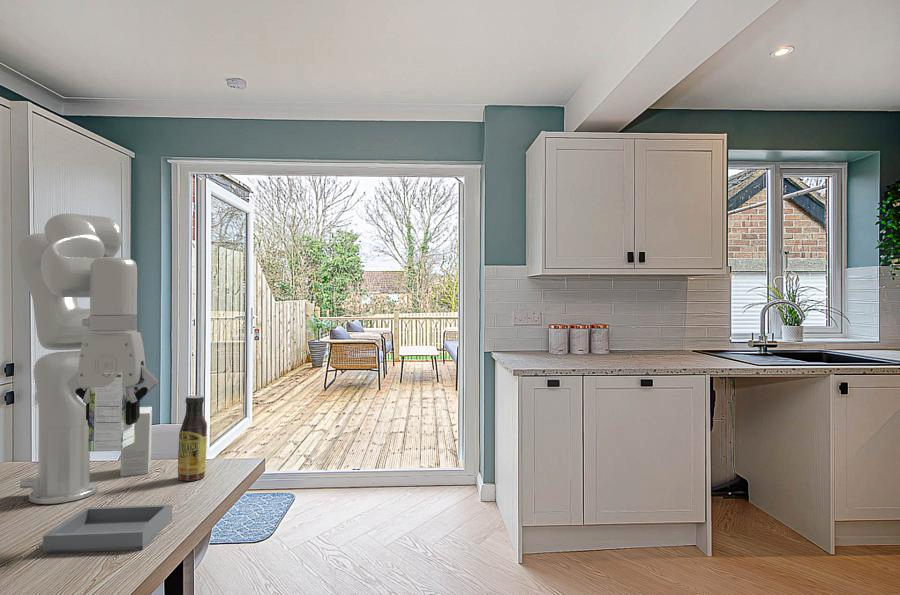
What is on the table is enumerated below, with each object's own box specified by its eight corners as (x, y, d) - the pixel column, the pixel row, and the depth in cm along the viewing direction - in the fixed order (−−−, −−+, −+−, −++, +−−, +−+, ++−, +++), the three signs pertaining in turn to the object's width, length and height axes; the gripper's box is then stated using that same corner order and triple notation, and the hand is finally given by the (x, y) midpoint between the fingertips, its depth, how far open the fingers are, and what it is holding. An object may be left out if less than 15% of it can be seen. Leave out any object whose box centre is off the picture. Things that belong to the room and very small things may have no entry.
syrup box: (103, 444, 109) (104, 366, 110) (136, 443, 110) (137, 366, 110) (87, 452, 104) (88, 370, 104) (122, 451, 104) (123, 370, 104)
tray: (42, 554, 99) (43, 536, 99) (85, 523, 113) (85, 507, 113) (142, 549, 101) (142, 532, 101) (172, 519, 115) (172, 504, 115)
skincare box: (123, 468, 151) (124, 407, 151) (152, 465, 153) (153, 405, 153) (119, 477, 143) (120, 413, 143) (150, 474, 145) (150, 411, 146)
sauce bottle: (171, 481, 139) (172, 397, 140) (189, 473, 146) (189, 393, 146) (196, 483, 138) (196, 398, 138) (212, 475, 144) (212, 394, 144)
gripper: (51, 326, 102) (50, 429, 102) (155, 325, 104) (154, 427, 104) (74, 324, 110) (73, 420, 110) (170, 324, 112) (169, 419, 112)
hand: (113, 422), depth 107 cm, fingers closed on syrup box, 5 cm apart
